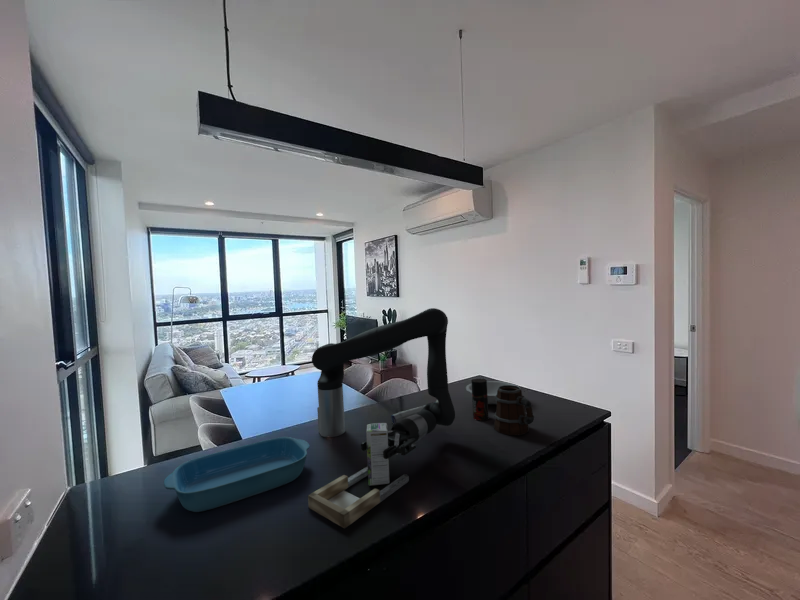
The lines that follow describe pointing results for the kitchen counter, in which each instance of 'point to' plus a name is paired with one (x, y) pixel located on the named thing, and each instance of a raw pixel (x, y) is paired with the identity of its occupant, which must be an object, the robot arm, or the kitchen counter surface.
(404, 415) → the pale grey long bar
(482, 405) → the deodorant
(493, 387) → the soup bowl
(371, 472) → the syrup box
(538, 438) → the kitchen counter surface
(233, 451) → the casserole dish
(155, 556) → the kitchen counter surface
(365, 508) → the socket
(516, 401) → the mug
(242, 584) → the kitchen counter surface
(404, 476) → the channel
